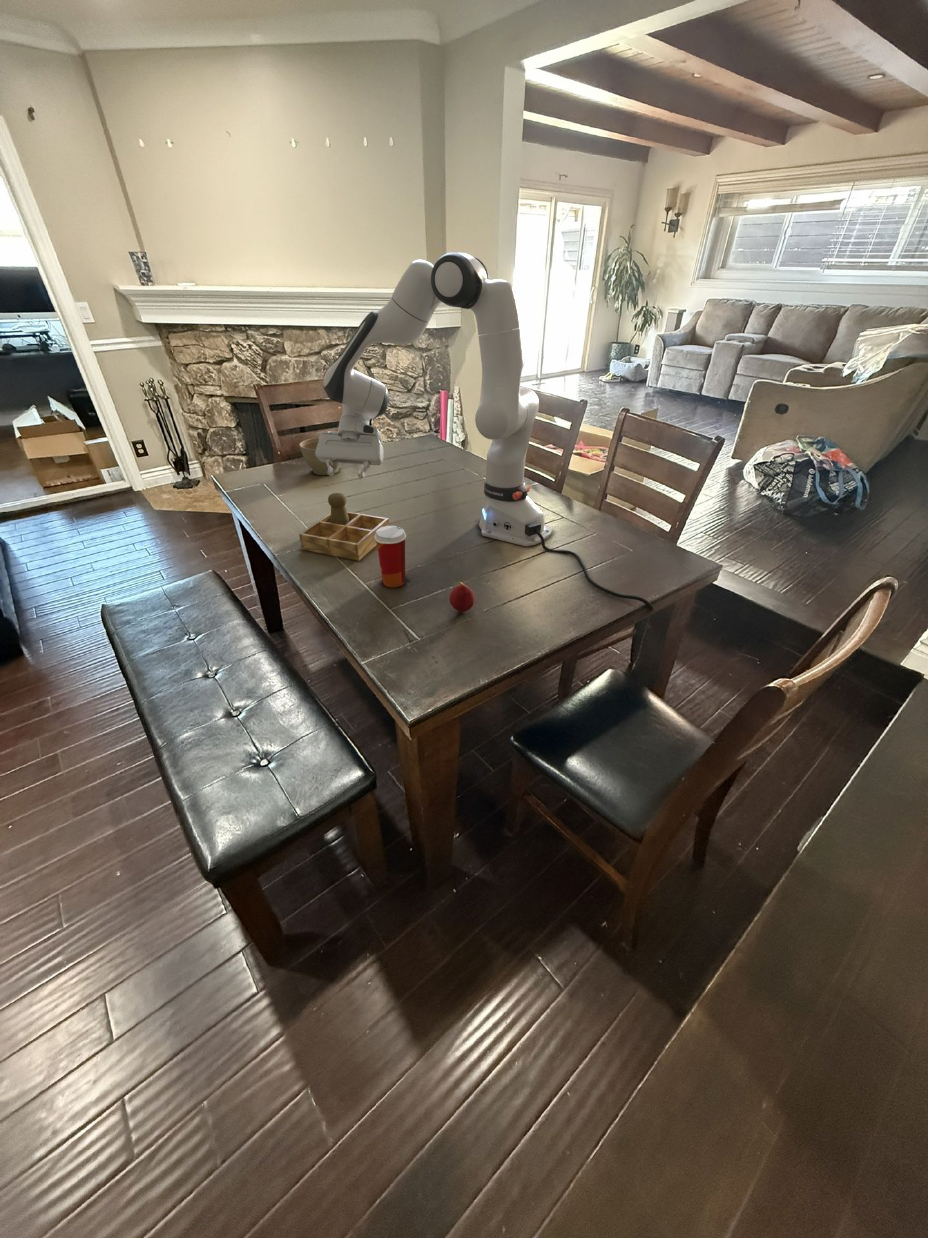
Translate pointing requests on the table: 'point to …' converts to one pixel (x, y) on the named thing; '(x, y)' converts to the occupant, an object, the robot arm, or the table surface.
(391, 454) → the table surface
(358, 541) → the wooden compartment tray
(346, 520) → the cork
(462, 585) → the onion
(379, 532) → the paper cup
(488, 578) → the table surface
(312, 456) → the planter bowl
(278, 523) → the table surface
